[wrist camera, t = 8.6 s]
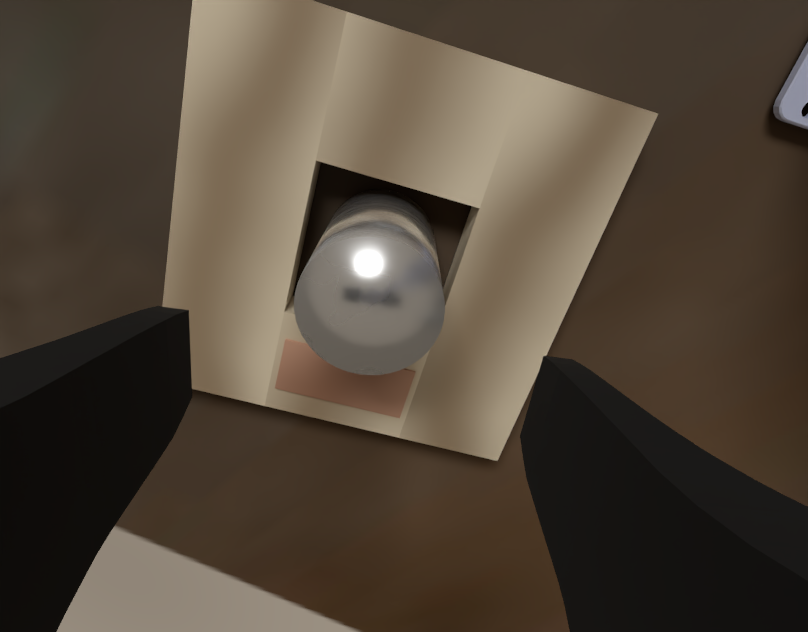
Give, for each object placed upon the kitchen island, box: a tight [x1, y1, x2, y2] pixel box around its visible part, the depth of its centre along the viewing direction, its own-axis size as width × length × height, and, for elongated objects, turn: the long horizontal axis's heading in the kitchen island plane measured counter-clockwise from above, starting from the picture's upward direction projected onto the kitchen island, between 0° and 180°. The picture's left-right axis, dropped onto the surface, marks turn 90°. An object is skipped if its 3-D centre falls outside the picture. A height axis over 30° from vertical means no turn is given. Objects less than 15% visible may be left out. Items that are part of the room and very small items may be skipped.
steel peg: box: [294, 189, 445, 375], centre depth 16 cm, size 4×4×6 cm
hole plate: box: [163, 0, 658, 461], centre depth 18 cm, size 14×14×2 cm
